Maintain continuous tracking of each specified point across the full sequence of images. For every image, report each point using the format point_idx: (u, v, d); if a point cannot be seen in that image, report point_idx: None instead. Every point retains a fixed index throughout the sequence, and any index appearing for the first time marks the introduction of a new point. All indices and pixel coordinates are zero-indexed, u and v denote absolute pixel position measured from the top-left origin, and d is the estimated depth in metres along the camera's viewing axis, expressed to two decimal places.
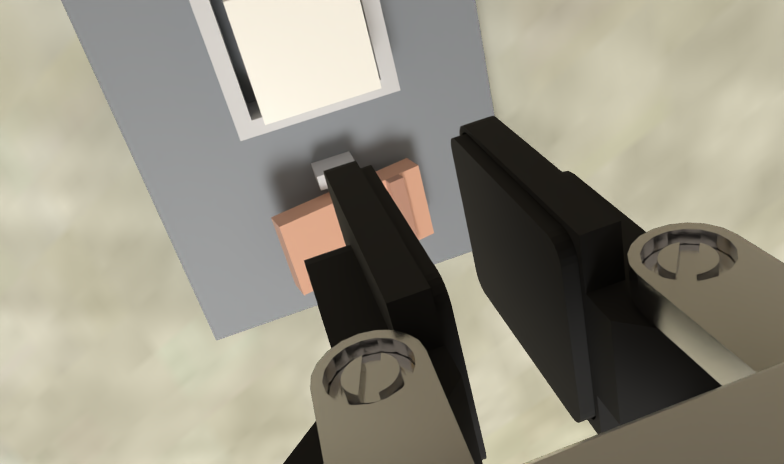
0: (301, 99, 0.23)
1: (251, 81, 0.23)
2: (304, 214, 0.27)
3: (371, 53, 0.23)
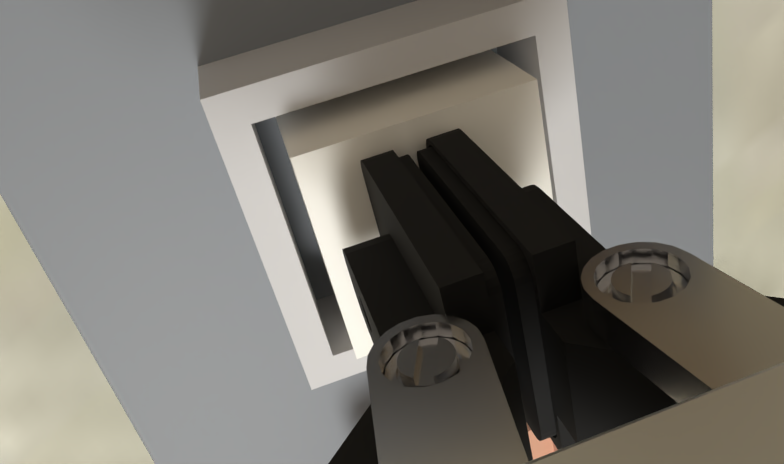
0: None
1: (336, 290, 0.12)
2: None
3: None
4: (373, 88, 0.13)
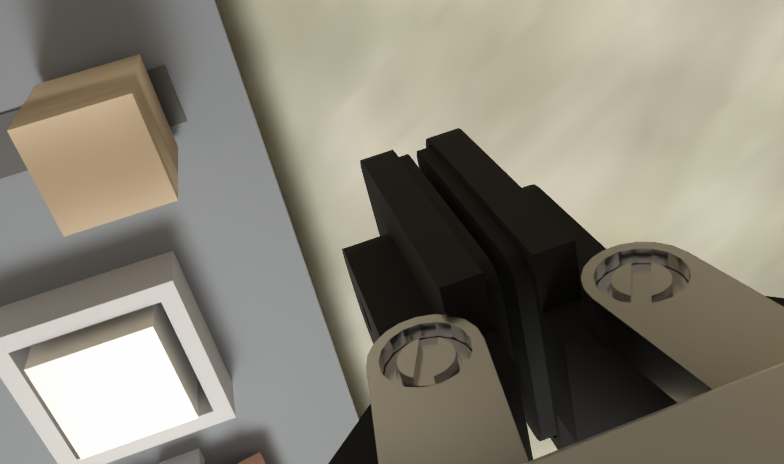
0: (116, 435, 0.24)
1: (62, 427, 0.23)
2: None
3: (184, 392, 0.24)
4: None
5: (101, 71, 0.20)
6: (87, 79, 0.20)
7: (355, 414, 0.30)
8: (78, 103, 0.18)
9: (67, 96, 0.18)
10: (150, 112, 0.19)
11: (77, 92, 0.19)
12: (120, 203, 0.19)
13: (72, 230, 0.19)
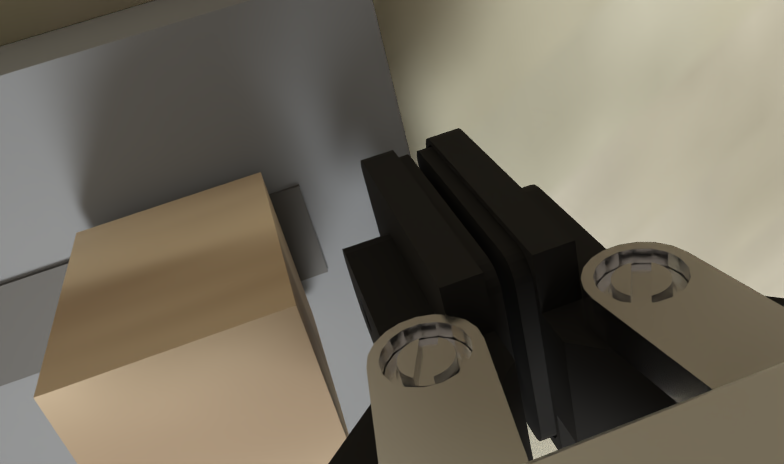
0: None
1: None
2: None
3: None
4: None
5: (198, 212, 0.11)
6: (177, 235, 0.10)
7: None
8: (178, 318, 0.09)
9: (148, 287, 0.09)
10: (302, 303, 0.10)
11: (166, 275, 0.10)
12: None
13: None
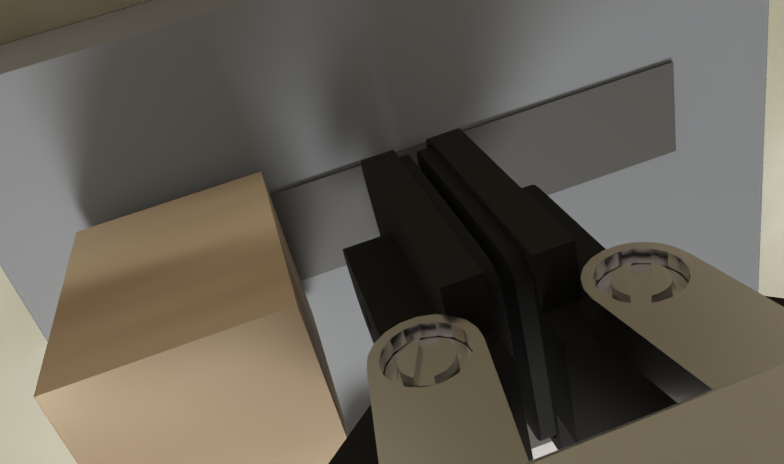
0: None
1: None
2: None
3: None
4: None
5: (199, 212, 0.11)
6: (177, 234, 0.10)
7: None
8: (179, 318, 0.09)
9: (149, 287, 0.09)
10: (302, 303, 0.10)
11: (166, 275, 0.10)
12: None
13: None
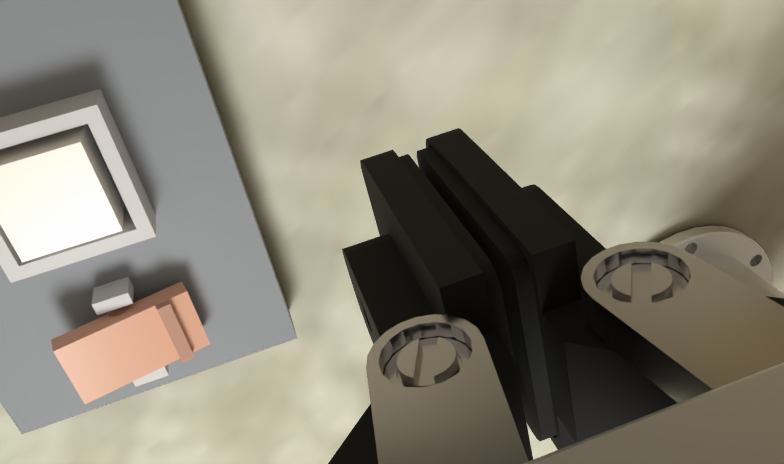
0: (51, 242, 0.29)
1: (5, 230, 0.28)
2: (78, 338, 0.31)
3: (109, 205, 0.29)
4: None
5: None
6: None
7: (265, 253, 0.34)
8: None
9: None
10: None
11: None
12: None
13: None
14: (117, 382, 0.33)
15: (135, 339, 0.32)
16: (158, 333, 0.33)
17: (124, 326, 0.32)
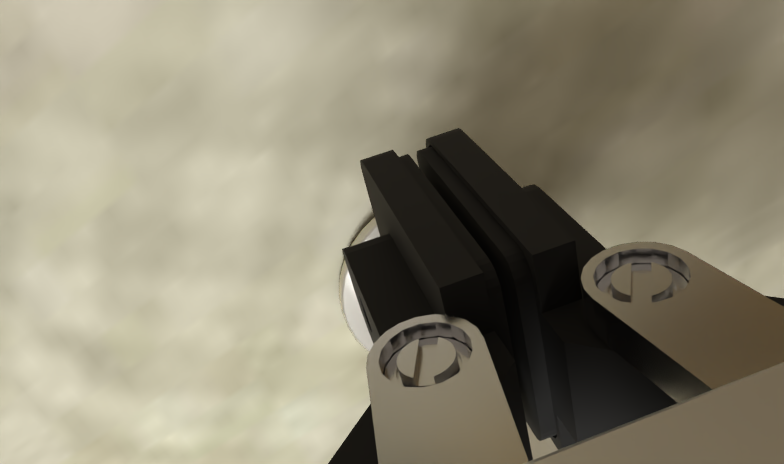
0: None
1: None
2: None
3: None
4: None
5: None
6: None
7: None
8: None
9: None
10: None
11: None
12: None
13: None
14: None
15: None
16: None
17: None
